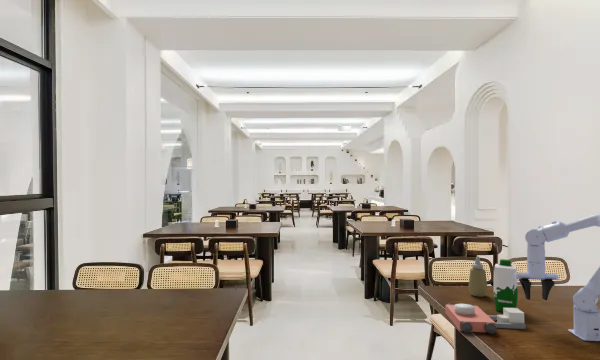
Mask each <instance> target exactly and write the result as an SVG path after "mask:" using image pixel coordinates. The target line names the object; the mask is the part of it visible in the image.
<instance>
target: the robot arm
mask: <svg viewBox="0 0 600 360" xmlns="http://www.w3.org/2000/svg"><path fill="white" fill-rule="evenodd" d="M590 227H592V228H593V227H599V228H600V213H597V214H593V215H590V216H586V217H584V218H580V219H577V220H574V221H571V222H568V223H565V222H562V221H552V222H551V223H550V224H547V225H544V226H542V225H539V226H537V228H533V229H532V228H531V229H530V230H528V231H527V232H526V233H525V237H524V239H525V241H526V245H527V246H526V265H527V266H526V272H517V273H514V278H515V279H517V280H519V282H520V286H521V287H522V289H523V292H524V297H525V299H526V300H531V289H532V288H531V287H532V281H531V280H540V282H541V289H542V291H541V296H542V300H544V301H548V298H549V295H550V292H551V290H552V289H553V286H554V285H555V281H559V279H560V278H559V276H560V275H559V274H557V273H547V272H546V250H545V247H546V246H545V243H546V242H547V243H549V242H554V241H557V240H561V239H564V238H568V236H569V234H570V233H572V232H575V231H579V230H583V229H588V228H590ZM599 301H600V266H599V267H598V268H597V269H596V271H595V272H594V273H593V275H592V277H591V278H590V279H589V280H588V281H587V282H586V284H585V285H584V286H582V287H581V288H579V289H578V291H577V292H575V293H574V295H573V296H572V303H573V305H572V306H573V328H572V329H571V328H570V329H569V328H568V329H567V331H568V332H570V333H571V334H573V335H574V336H576V337H577V338H579V339H580V340H582V341H589V342H592V341H593V342H600V308H599V307H598V305H597V304H598V303H599Z"/></svg>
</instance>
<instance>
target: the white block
mask: <svg viewBox="0 0 600 360" xmlns="http://www.w3.org/2000/svg"><path fill="white" fill-rule="evenodd" d="M496 316H497V321H496V322H498V323H524V324H525V312H523V311H522V310H521V309H519V308H518V307H516V308H503V312H502V314H496Z"/></svg>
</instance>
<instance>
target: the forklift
mask: <svg viewBox="0 0 600 360" xmlns="http://www.w3.org/2000/svg"><path fill="white" fill-rule="evenodd" d="M444 310H445V315H446V316H447V317H448V319H449V320H450V321H451V322H452V324H453V325H454V326H455V327H456V329H457V330H458V331H459V332H463V333H465V334H469V333H487V334H489V335H494V334H496V333H497V331H498V330H497V329H517V330H519V329H521V330H526V327H527V325H526V324H525V322H524V323H498V322H497V321H496V320H497V315H491V314H490V315H489V314H487V313H485V311H484V310H482V309H481V308H480V307H479V306H478V305H474V304H472V303H470V304H469V303H455V304H452V303H447V304H445V307H444ZM495 321H496V322H495Z"/></svg>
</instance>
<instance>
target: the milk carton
mask: <svg viewBox="0 0 600 360" xmlns="http://www.w3.org/2000/svg"><path fill="white" fill-rule="evenodd" d="M517 269H518V268H517V265H515V264H514V265H513V264H512V262H511V259H502V258H501V259H500V260H499V263H495V265H494V268H493V300H494V307H495V312H502V313H503V308H517V305H518V295H519V294H518V293H519V292H518V279H515V278H514V273H518V271H517Z"/></svg>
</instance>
